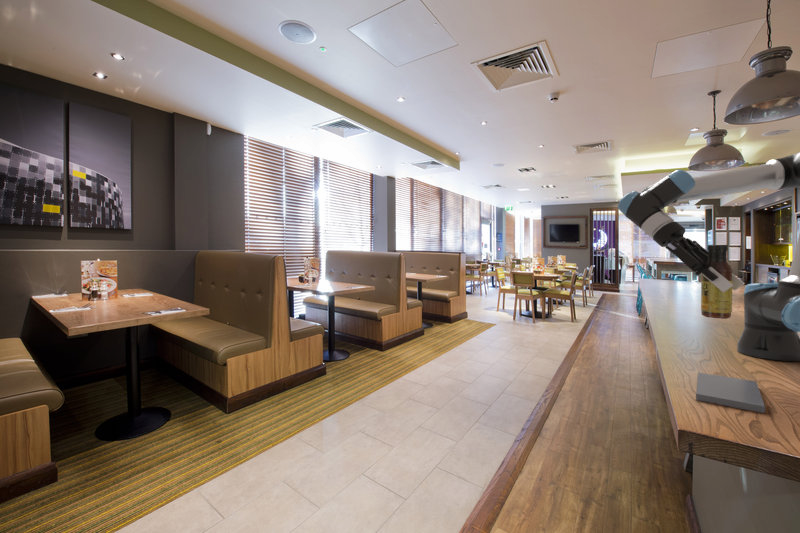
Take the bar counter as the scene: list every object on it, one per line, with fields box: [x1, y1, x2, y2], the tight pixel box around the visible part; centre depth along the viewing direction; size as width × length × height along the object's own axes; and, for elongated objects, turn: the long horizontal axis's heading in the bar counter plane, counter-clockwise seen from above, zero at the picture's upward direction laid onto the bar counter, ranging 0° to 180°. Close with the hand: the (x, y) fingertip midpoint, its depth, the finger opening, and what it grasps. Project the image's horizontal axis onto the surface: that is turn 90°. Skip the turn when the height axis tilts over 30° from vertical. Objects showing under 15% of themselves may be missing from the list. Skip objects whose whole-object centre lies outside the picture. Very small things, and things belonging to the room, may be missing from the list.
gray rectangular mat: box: [695, 371, 766, 414], centre depth 83 cm, size 18×11×2 cm, turn 138°
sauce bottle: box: [700, 244, 733, 320], centre depth 94 cm, size 6×6×20 cm
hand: (734, 287), depth 90 cm, fingers closed on sauce bottle, 6 cm apart
